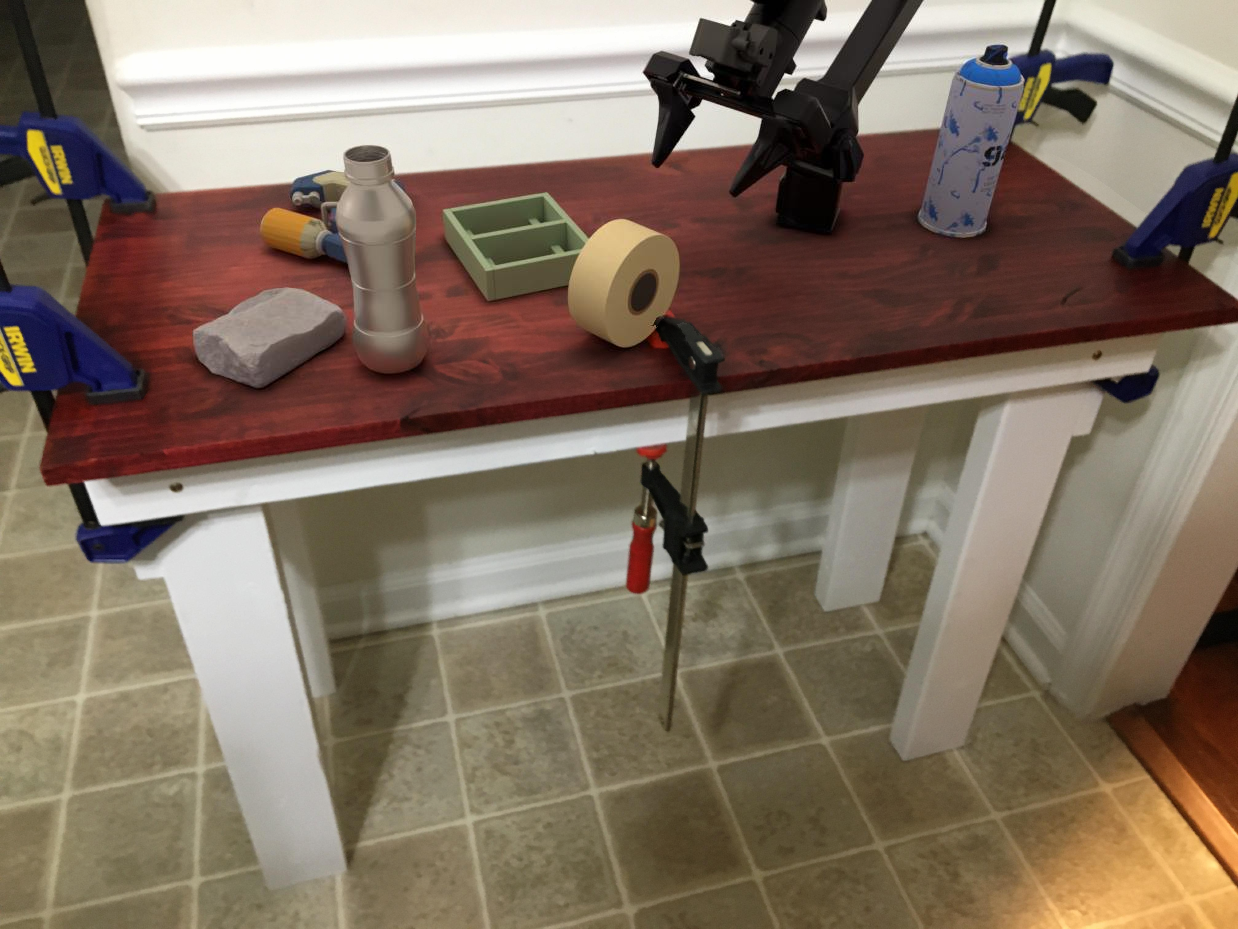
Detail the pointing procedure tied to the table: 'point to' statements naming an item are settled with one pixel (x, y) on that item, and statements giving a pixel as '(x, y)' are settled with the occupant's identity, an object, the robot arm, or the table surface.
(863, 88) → the robot arm
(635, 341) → the masking tape roll
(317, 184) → the spray gun
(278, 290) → the stone block
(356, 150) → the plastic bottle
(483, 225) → the green divided tray
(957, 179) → the aerosol can
